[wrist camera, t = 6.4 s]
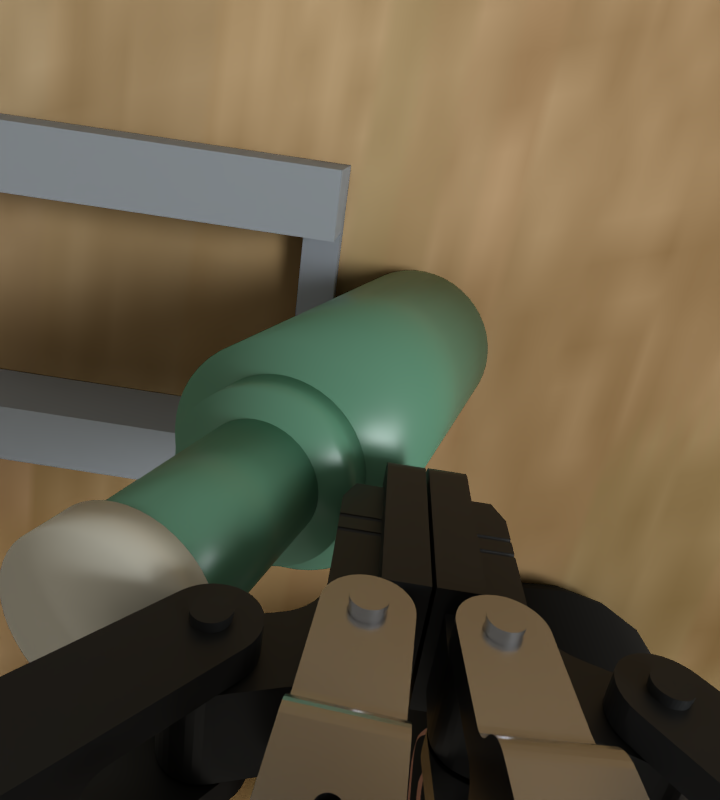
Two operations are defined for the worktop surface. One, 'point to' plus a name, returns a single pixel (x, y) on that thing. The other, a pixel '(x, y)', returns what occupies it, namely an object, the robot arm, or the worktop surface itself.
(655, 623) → the worktop surface
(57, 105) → the worktop surface
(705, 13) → the worktop surface
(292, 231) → the cradle
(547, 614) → the coffee jar
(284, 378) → the bottle
